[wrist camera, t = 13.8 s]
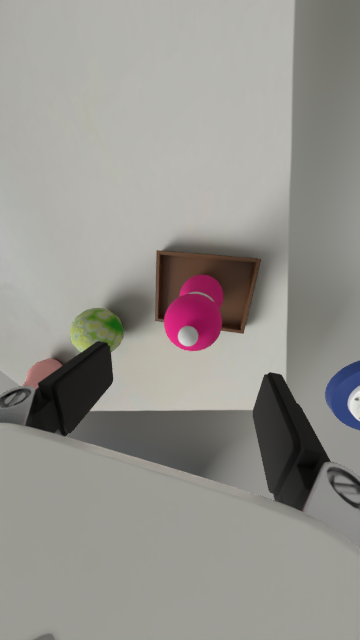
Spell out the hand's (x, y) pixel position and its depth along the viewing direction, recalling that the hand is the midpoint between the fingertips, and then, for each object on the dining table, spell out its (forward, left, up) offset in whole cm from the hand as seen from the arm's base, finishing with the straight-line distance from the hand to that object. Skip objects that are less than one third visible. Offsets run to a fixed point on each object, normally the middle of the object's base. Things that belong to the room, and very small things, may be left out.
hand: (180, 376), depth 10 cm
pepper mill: (0, 0, -24) cm, 24 cm away
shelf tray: (0, 0, -25) cm, 25 cm away
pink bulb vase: (+38, +26, -25) cm, 53 cm away
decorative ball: (+20, +10, -25) cm, 34 cm away
